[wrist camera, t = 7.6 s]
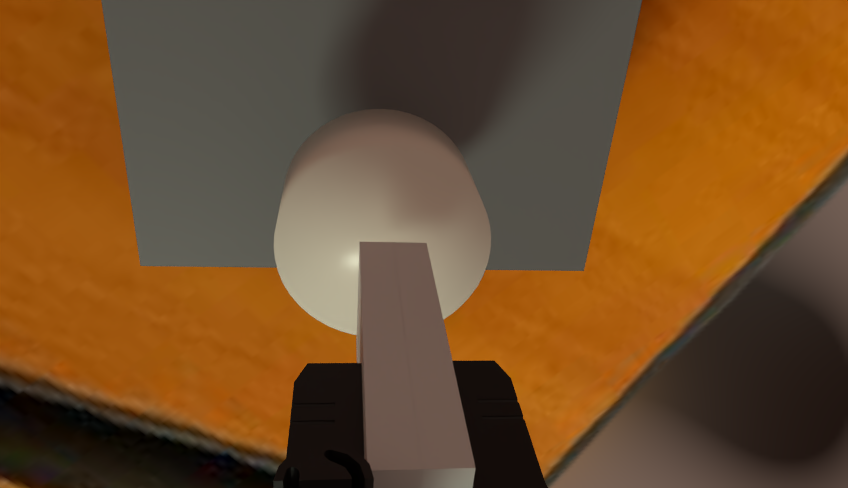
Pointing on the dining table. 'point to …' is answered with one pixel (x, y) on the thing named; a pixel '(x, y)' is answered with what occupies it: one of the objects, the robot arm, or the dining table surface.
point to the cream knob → (377, 211)
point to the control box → (361, 90)
